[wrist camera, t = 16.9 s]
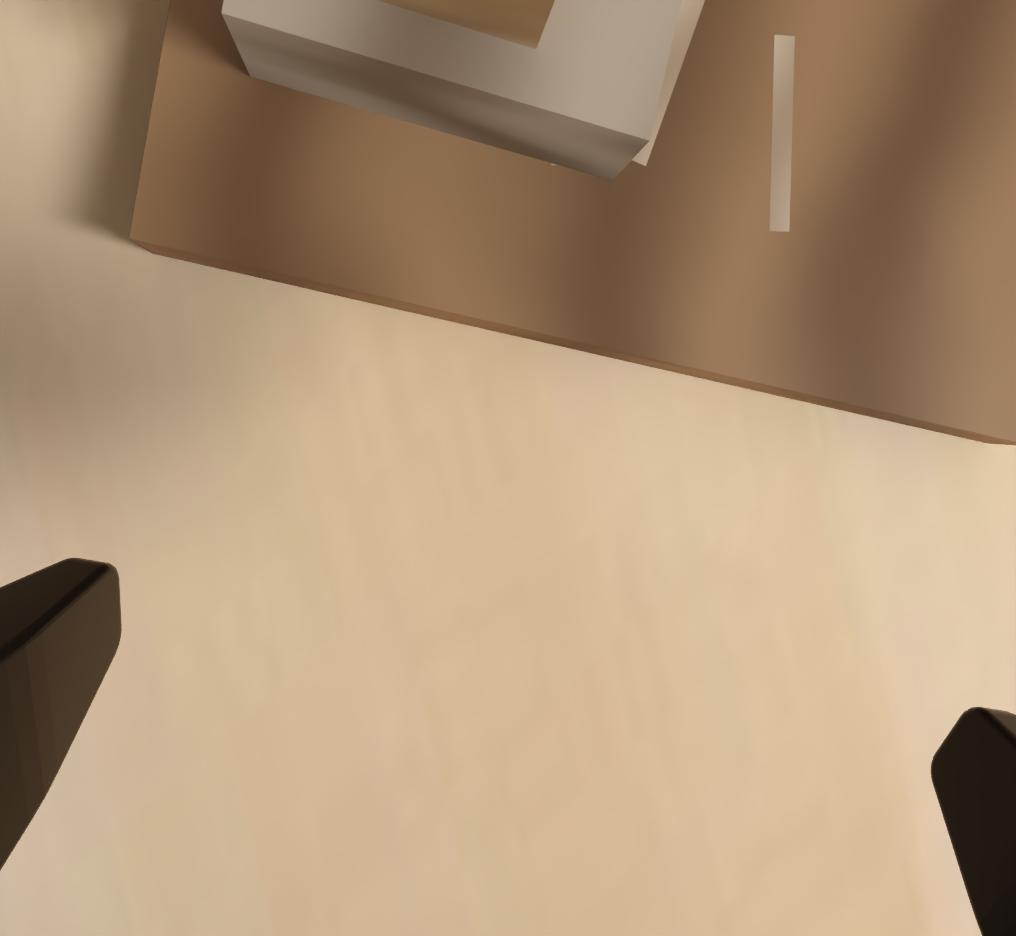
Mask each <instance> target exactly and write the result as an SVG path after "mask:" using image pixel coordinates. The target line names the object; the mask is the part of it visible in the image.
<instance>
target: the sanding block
mask: <svg viewBox="0 0 1016 936" xmlns="http://www.w3.org/2000/svg"><path fill="white" fill-rule="evenodd" d="M681 1H682V0H224V2H223V7H222V12H221V13H222V16H223V18H224V20H225V22H226V24H227V27H228V29H229V31H230V33H231V35H232V38H233V40H234V42H235V44H236V46H237V49H238V51H239V53H240V55H241V57H242V59H243V62H244V64H245V66H246V68H247V70H248V73H249V75H250V77H253V78H256V79H259V80H263V81H266V82H270V83H273V84H277V85H280V86H284V87H287V88H291V89H294V90H298V91H301V92H305V93H308V94H312V95H315V96H319V97H322V98H326V99H329V100H333V101H336V102H340V103H343V104H347V105H350V106H354V107H357V108H361V109H364V110H368V111H371V112H375V113H378V114H382V115H385V116H389V117H392V118H396V119H399V120H403V121H406V122H410V123H413V124H417V125H420V126H424V127H427V128H431V129H434V130H438V131H441V132H445V133H448V134H452V135H455V136H459V137H462V138H466V139H469V140H473V141H476V142H480V143H483V144H487V145H490V146H494V147H497V148H501V149H504V150H508V151H511V152H514V153H518V154H521V155H525V156H528V157H532V158H535V159H539V160H542V161H546V162H549V163H553V164H556V165H560V166H563V167H567V168H570V169H574V170H577V171H581V172H584V173H588V174H591V175H595V176H598V177H602V178H605V179H609V180H613V179H614V178H615V177H616V176H617V175H618V174H619V173H620V172H621V171H622V170H623V169H624V168H625V167H626V166H627V164H628V163H629V162H630V161H631V160H632V159H633V158H634V157H635V156H636V155H637V154H638V153H639V152H640V151H641V150H642V148H643V147H644V146H645V145H646V144H647V143H648V142H649V141H650V137H651V133H652V129H653V124H654V120H655V115H656V111H657V107H658V102H659V98H660V93H661V89H662V85H663V80H664V76H665V71H666V67H667V63H668V58H669V54H670V49H671V45H672V41H673V36H674V32H675V28H676V23H677V19H678V14H679V10H680V6H681Z"/></svg>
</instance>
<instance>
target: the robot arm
mask: <svg viewBox="0 0 1016 936" xmlns="http://www.w3.org/2000/svg"><path fill="white" fill-rule="evenodd" d="M120 638H121V607H120V587H119V575H118V572H117V570H116V568H115V567H114V566H113V565H111V564H109V563H105V562H99V561H93V560H87V559H81V558H69V559H66V560H63V561H60V562H58V563H56V564H53V565H51V566H49V567H46V568H44V569H42V570H39V571H37V572H35V573H32V574H30V575H28V576H26V577H23V578H21V579H19V580H16V581H14V582H12V583H9V584H7V585H5V586H2V587H0V870H1V868H2V867H3V865H4V864H5V862H6V860H7V859H8V857H9V856H10V854H11V852H12V851H13V849H14V848H15V846H16V844H17V843H18V841H19V840H20V838H21V836H22V835H23V833H24V832H25V830H26V828H27V827H28V825H29V823H30V822H31V820H32V818H33V817H34V815H35V813H36V812H37V810H38V808H39V807H40V805H41V803H42V802H43V800H44V798H45V796H46V794H47V793H48V791H49V789H50V787H51V785H52V783H53V781H54V779H55V777H56V775H57V773H58V771H59V769H60V767H61V765H62V763H63V761H64V759H65V757H66V755H67V753H68V751H69V748H70V746H71V744H72V742H73V740H74V738H75V736H76V734H77V732H78V730H79V728H80V726H81V724H82V722H83V720H84V718H85V716H86V713H87V711H88V709H89V707H90V705H91V703H92V701H93V699H94V697H95V695H96V693H97V691H98V689H99V687H100V685H101V683H102V681H103V678H104V676H105V674H106V672H107V670H108V668H109V666H110V664H111V662H112V660H113V658H114V656H115V654H116V651H117V648H118V645H119V642H120ZM931 778H932V782H933V785H934V788H935V792H936V795H937V798H938V801H939V804H940V807H941V811H942V814H943V817H944V820H945V823H946V827H947V830H948V833H949V836H950V839H951V842H952V846H953V849H954V852H955V855H956V858H957V861H958V865H959V868H960V871H961V874H962V877H963V881H964V884H965V887H966V890H967V893H968V896H969V900H970V903H971V906H972V908H973V911H974V914H975V917H976V920H977V923H978V926H979V929H980V931H981V934H982V936H1016V715H1015V714H1012V713H1010V712H1006V711H1001V710H995V709H989V708H983V707H973V708H970V709H968V710H967V711H965V712H964V713H963V714H962V715H961V717H960V718H959V719H958V721H957V722H956V724H955V725H954V727H953V728H952V730H951V731H950V733H949V734H948V736H947V737H946V738H945V740H944V741H943V743H942V744H941V746H940V747H939V749H938V750H937V752H936V753H935V755H934V757H933V760H932V763H931Z"/></svg>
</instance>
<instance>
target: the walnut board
mask: <svg viewBox="0 0 1016 936" xmlns="http://www.w3.org/2000/svg"><path fill="white" fill-rule="evenodd" d="M223 2H224V0H170V6H169V12H168V17H167V23H166V29H165V34H164V40H163V46H162V52H161V57H160V63H159V69H158V74H157V80H156V86H155V92H154V97H153V103H152V109H151V114H150V120H149V126H148V131H147V137H146V143H145V149H144V154H143V160H142V166H141V171H140V177H139V183H138V189H137V194H136V200H135V206H134V211H133V217H132V223H131V229H130V234H129V239H131V240H132V241H134V242H136V243H137V244H139V245H140V246H142V247H144V248H145V249H147V250H148V251H150V252H152V253H154V254H158V255H162V256H167V257H171V258H176V259H180V260H184V261H189V262H193V263H198V264H202V265H206V266H211V267H215V268H220V269H224V270H228V271H233V272H237V273H242V274H246V275H250V276H255V277H259V278H264V279H268V280H272V281H277V282H281V283H286V284H290V285H294V286H299V287H303V288H308V289H312V290H316V291H321V292H325V293H330V294H334V295H338V296H343V297H347V298H352V299H356V300H360V301H365V302H369V303H373V304H378V305H382V306H387V307H391V308H395V309H400V310H404V311H409V312H413V313H417V314H422V315H426V316H431V317H435V318H439V319H444V320H448V321H453V322H457V323H461V324H466V325H470V326H475V327H479V328H483V329H488V330H492V331H497V332H501V333H505V334H510V335H514V336H519V337H523V338H527V339H532V340H536V341H541V342H545V343H549V344H554V345H558V346H563V347H567V348H571V349H576V350H580V351H584V352H589V353H593V354H598V355H602V356H606V357H611V358H615V359H620V360H624V361H628V362H633V363H637V364H642V365H646V366H650V367H655V368H659V369H664V370H668V371H672V372H677V373H681V374H686V375H690V376H694V377H699V378H703V379H708V380H712V381H716V382H721V383H725V384H730V385H734V386H738V387H743V388H747V389H752V390H756V391H760V392H765V393H769V394H774V395H778V396H782V397H787V398H791V399H795V400H800V401H804V402H809V403H813V404H817V405H822V406H826V407H831V408H835V409H839V410H844V411H848V412H853V413H857V414H861V415H866V416H870V417H875V418H879V419H883V420H888V421H892V422H897V423H901V424H905V425H910V426H914V427H919V428H923V429H927V430H932V431H936V432H941V433H945V434H949V435H954V436H958V437H963V438H967V439H971V440H976V441H980V442H985V443H990V444H1006V445H1016V0H682V1H681V6H680V10H679V14H678V19H677V23H676V28H675V32H674V36H673V41H672V45H671V49H670V54H669V58H668V63H667V67H666V71H665V76H664V80H663V85H662V89H661V93H660V98H659V102H658V107H657V111H656V115H655V120H654V124H653V129H652V133H651V137H650V141H649V142H648V143H647V144H646V145H645V146H644V147H643V148H642V150H641V151H640V152H639V153H638V154H637V155H636V156H635V157H634V158H633V159H632V160H631V161H630V162H629V163H628V164H627V166H626V167H625V168H624V169H623V170H622V171H621V172H620V173H619V174H618V175H617V176H616V177H615V178H614V179H613V180H609V179H605V178H602V177H598V176H595V175H591V174H588V173H584V172H581V171H577V170H574V169H570V168H567V167H563V166H560V165H556V164H553V163H549V162H546V161H542V160H539V159H535V158H532V157H528V156H525V155H521V154H518V153H514V152H511V151H508V150H504V149H501V148H497V147H494V146H490V145H487V144H483V143H480V142H476V141H473V140H469V139H466V138H462V137H459V136H455V135H452V134H448V133H445V132H441V131H438V130H434V129H431V128H427V127H424V126H420V125H417V124H413V123H410V122H406V121H403V120H399V119H396V118H392V117H389V116H385V115H382V114H378V113H375V112H371V111H368V110H364V109H361V108H357V107H354V106H350V105H347V104H343V103H340V102H336V101H333V100H329V99H326V98H322V97H319V96H315V95H312V94H308V93H305V92H301V91H298V90H294V89H291V88H287V87H284V86H280V85H277V84H273V83H270V82H266V81H263V80H259V79H256V78H253V77H250V75H249V73H248V70H247V68H246V66H245V64H244V62H243V59H242V57H241V55H240V53H239V51H238V49H237V46H236V44H235V42H234V40H233V38H232V35H231V33H230V31H229V29H228V27H227V24H226V22H225V20H224V18H223V16H222V13H221V12H222V7H223Z"/></svg>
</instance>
